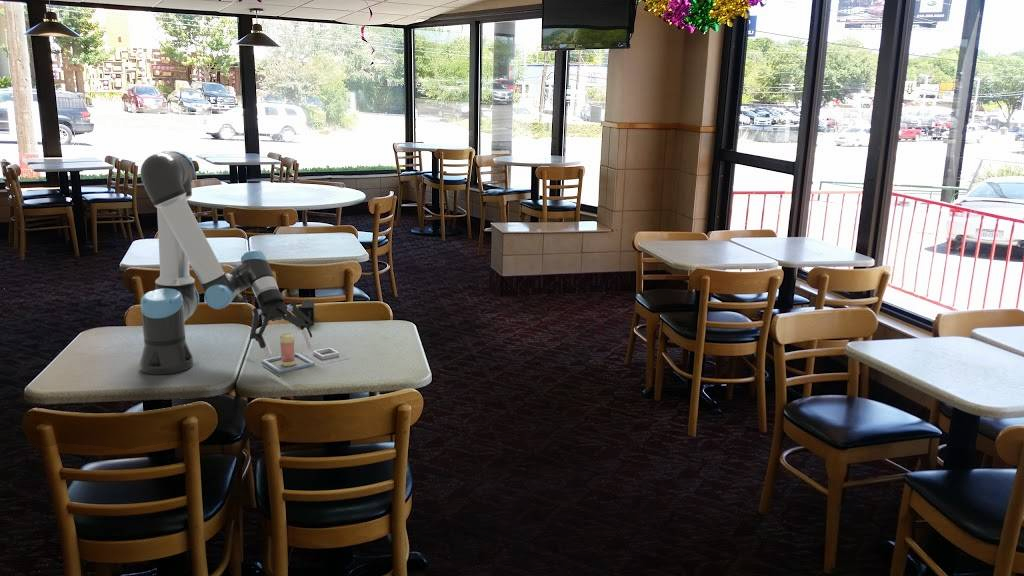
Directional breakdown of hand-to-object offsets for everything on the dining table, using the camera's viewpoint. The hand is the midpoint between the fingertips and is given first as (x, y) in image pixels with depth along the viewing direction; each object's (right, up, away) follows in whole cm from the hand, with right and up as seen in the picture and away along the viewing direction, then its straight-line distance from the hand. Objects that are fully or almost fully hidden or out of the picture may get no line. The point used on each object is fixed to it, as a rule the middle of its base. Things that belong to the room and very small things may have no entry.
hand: (291, 351), depth 243 cm
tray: (-2, -5, +3) cm, 6 cm away
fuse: (-2, -5, +3) cm, 6 cm away
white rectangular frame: (+8, -3, +11) cm, 15 cm away
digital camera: (-9, +7, +52) cm, 53 cm away
